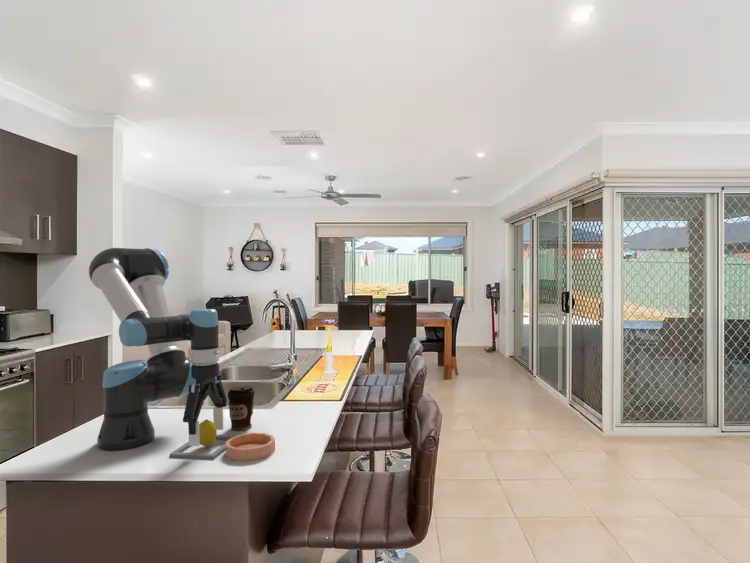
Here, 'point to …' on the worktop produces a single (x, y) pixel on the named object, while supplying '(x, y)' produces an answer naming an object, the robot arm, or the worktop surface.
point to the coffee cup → (241, 407)
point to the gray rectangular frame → (215, 454)
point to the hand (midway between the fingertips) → (207, 437)
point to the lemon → (207, 432)
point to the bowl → (250, 446)
